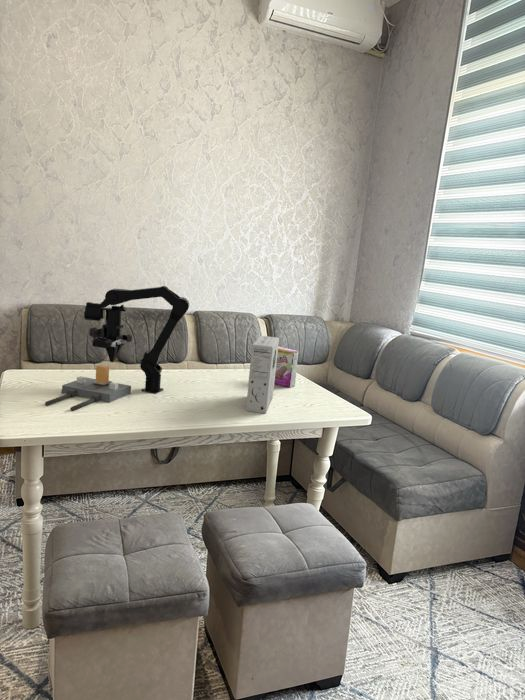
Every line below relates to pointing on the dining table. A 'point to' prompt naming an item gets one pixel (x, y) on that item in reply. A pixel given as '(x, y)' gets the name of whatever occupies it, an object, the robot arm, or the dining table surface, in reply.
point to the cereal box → (262, 374)
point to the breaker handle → (102, 375)
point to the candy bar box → (286, 367)
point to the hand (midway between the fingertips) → (111, 362)
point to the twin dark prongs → (68, 397)
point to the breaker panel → (96, 389)
